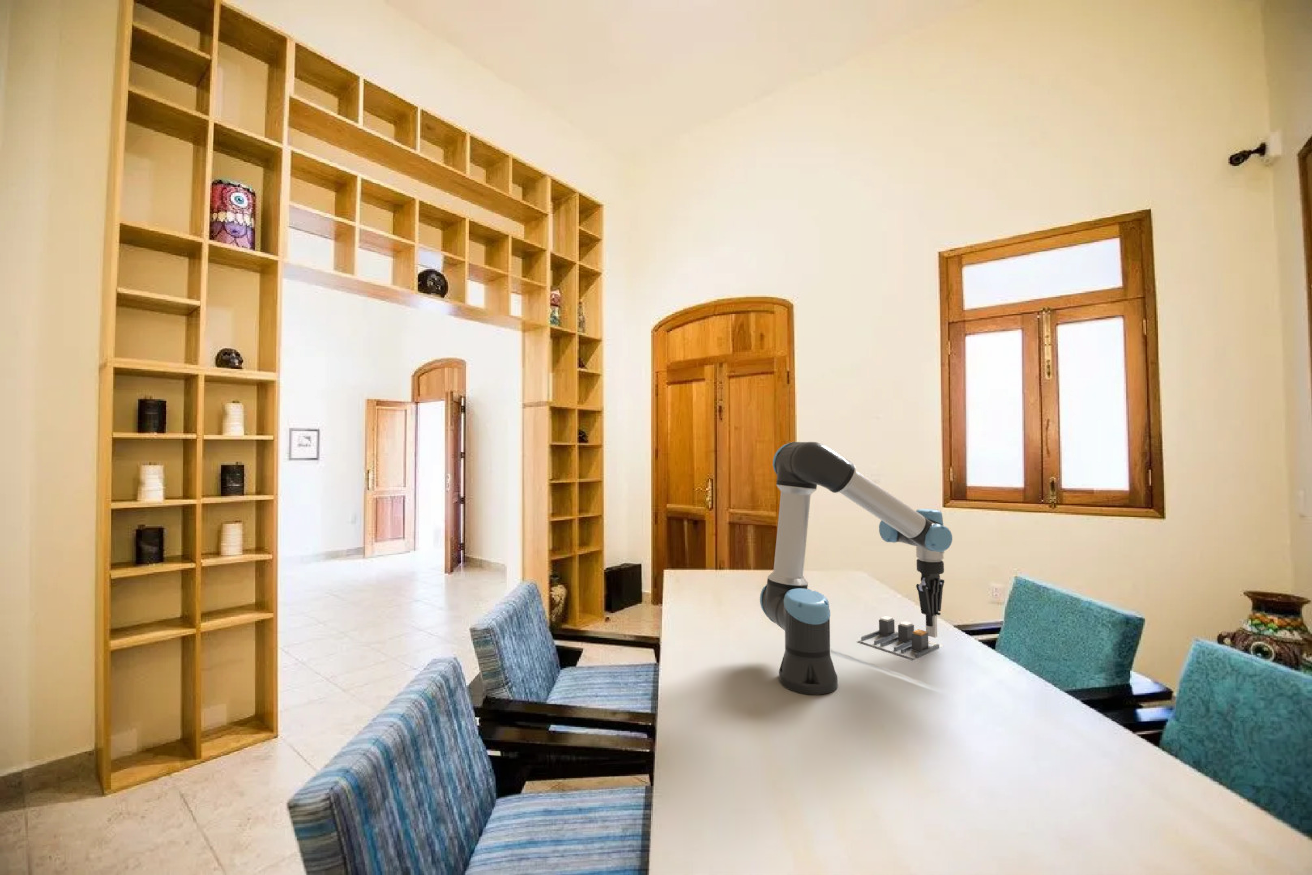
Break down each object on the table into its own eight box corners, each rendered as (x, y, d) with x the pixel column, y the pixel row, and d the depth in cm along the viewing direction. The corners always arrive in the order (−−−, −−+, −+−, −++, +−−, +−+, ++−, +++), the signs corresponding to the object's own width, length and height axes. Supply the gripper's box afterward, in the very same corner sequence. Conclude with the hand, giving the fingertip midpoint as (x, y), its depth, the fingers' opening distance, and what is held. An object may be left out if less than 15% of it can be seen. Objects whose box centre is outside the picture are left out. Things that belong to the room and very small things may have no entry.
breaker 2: (907, 643, 164) (907, 625, 164) (898, 640, 166) (898, 623, 166) (914, 640, 166) (913, 623, 166) (905, 638, 169) (904, 620, 169)
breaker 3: (921, 653, 156) (921, 634, 156) (911, 650, 159) (911, 631, 159) (928, 650, 159) (928, 631, 159) (918, 647, 161) (918, 628, 161)
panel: (908, 668, 148) (908, 660, 148) (846, 647, 164) (846, 640, 164) (953, 647, 163) (952, 640, 163) (891, 630, 180) (891, 623, 180)
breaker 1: (887, 637, 169) (887, 620, 169) (879, 635, 172) (878, 617, 172) (894, 635, 171) (894, 617, 172) (886, 632, 174) (885, 615, 174)
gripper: (931, 564, 156) (933, 644, 156) (952, 558, 164) (954, 634, 164) (907, 560, 162) (908, 637, 162) (928, 554, 170) (930, 628, 170)
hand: (931, 635), depth 163 cm, fingers closed
